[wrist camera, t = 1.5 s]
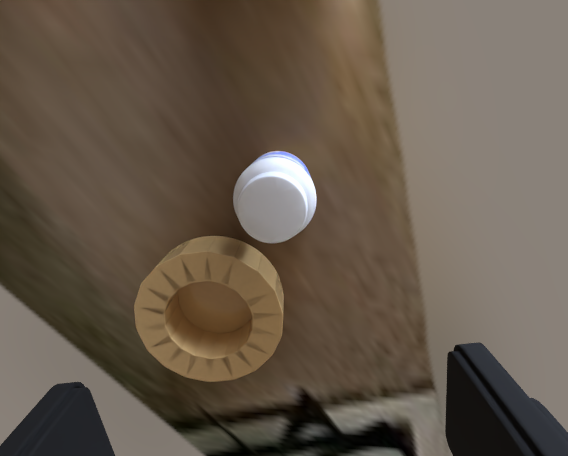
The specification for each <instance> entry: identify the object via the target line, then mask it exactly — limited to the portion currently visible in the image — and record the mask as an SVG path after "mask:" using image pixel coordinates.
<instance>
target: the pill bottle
mask: <svg viewBox="0 0 568 456" xmlns="http://www.w3.org/2000/svg"><path fill="white" fill-rule="evenodd" d="M233 204H234V209H235V212H236V215H237V217H238V219H239V221H240V224H241V226H242V227H243V229H244V230H245V231H246V232H247V233H248V234H249V235H250V236H251V237H253V238H255V239H256V240H258V241H261V242H265V243H280V242H284V241H286V240H289V239H290V238H292V237H293V236H295V235H296V234H298V233H299V232H301V231H302V230H303V229H304V228H305V227H306V226H307V225H308V223H309V222H310V220H311V219H312V217H313V215H314V212H315V208H316V191H315V187H314V184H313V182H312V179H311V177H310V174H309V172H308V170H307V168H306V166H305V165H304V163H303V162H302V161H301V160H300V159H299V158H297V157H296V156H294V155H292V154H290V153H288V152H284V151H270V152H268V153H265V154H263V155H261V156H260V157H259V158H257V159H256V160H255V161H254V162H253V163H252V164H251V165H250V166H249V167H248V168H246V170H245V171H244V172H243V173H242V174H241V175H240V177H239V179H238V180H237V183H236V185H235V188H234V194H233Z"/></svg>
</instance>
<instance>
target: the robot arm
mask: <svg viewBox="0 0 568 456" xmlns="http://www.w3.org/2000/svg"><path fill="white" fill-rule="evenodd" d="M447 359H448V360H447V395H446V438H447V442H448V445H449V448H450V450H451V452H452V454H453V456H568V432H566V430H565V429H564V428H563V427H562V426H561V425H560V423H559V422H558V421H557V420H556V419H555V418H554V417H553V415H552V414H551V413H550V412H549V411H548V410H547V409H546V408H545V407H544V406H543V405H542V404H541V403H540V402H539V401H537V400H535V399H534V398H529V397H528V396H527V394H526V393H525V392H524V391H523V390H522V389H521V387H520V386H519V385H518V384H517V383H516V382H515V381H514V379H513V378H512V377H511V376H510V375H509V374H508V372H507V371H506V370H505V369H504V368H503V367H502V366H501V364H500V363H499V362H498V361H497V360H496V359H495V357H494V356H493V355H492V354H491V353H490V352H489V351H488V349H487V348H486V347H485V346H484V345H483V344H482V343H469V344H460V345H455V347H454V351H452V352H449V353H448V358H447ZM0 456H115V454H114V451H113V449H112V446H111V444H110V441H109V439H108V436H107V434H106V431H105V428H104V426H103V423H102V421H101V418H100V415H99V413H98V410H97V408H96V405H95V402H94V400H93V397H92V395H91V392H90V390H89V389H88V388H87V387H85V386H84V385H83V384H82V383H81V382H74V383H64V384H57V385H55V386H53V387H52V388H51V389H50V390H49V391H48V392H47V393H46V395H45V396H44V397H43V398H42V399H41V400H40V401H39V402H38V404H37V405H36V406H35V407H34V408H33V409H32V410H31V412H30V413H29V414H28V415H27V416H26V417H25V418H24V419H23V421H22V422H21V423H20V424H19V425H18V426H17V427H16V429H15V430H14V431H13V432H12V433H11V434H10V435H9V437H8V438H7V439H6V440H5V441H4V442H3V443H2V444H1V446H0Z"/></svg>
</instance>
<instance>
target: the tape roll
mask: <svg viewBox="0 0 568 456" xmlns="http://www.w3.org/2000/svg"><path fill="white" fill-rule="evenodd" d="M283 304H284V292H283V289H282V284H281V281H280V278H279V276H278V274H277V272H276V270H275V268H274V267H273V265H272V264H271V263H270V261H269V260H268V259H267V258H266V257H265V256H264V255H263V254H262V253H261V252H259V251H258V250H257V249H255V248H254V247H252V246H250V245H249V244H247V243H244V242H242V241H240V240H237V239H233V238H229V237H224V236H204V237H199V238H195V239H192V240H189V241H187V242H184V243H182V244H180V245H179V246H177V247H176V248H174V249H172V250H171V251H170V252H169V253H168V254H167V255H166V256H165V257H164V259H163V260H162V261H161V262H160V263H159V264H158V265H157V266H156V267H155V268H154V269H153V271H152V272H151V273H150V274H149V275H148V276H147V277H146V279H145V280H144V281H143V282H142V283H141V285H140V288H139V291H138V295H137V298H136V301H135V304H134V312H135V322H136V329H137V331H138V333H139V335H140V337H141V339H142V341H143V343H144V345H145V347H146V349H147V350H148V351H149V352H150V353H151V354H152V355H153V356H154V357H155V358H156V359H157V360H158V361H159V362H160V363H161V364H162V365H163V366H164V367H166V368H168V369H170V370H172V371H174V372H176V373H178V374H180V375H182V376H184V377H186V378H191V379H196V380H201V381H206V382H217V381H227V380H235V379H237V378H240V377H242V376H245V375H247V374H249V373H252V372H254V371H255V370H257V369H258V368H259V367H260V366H261V365H262V364H264V363H265V362H266V361H267V360H268V359H269V358H270V357H271V356H272V355H273V353H274V351H275V349H276V347H277V345H278V343H279V341H280V339H281V337H282V327H283Z"/></svg>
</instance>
